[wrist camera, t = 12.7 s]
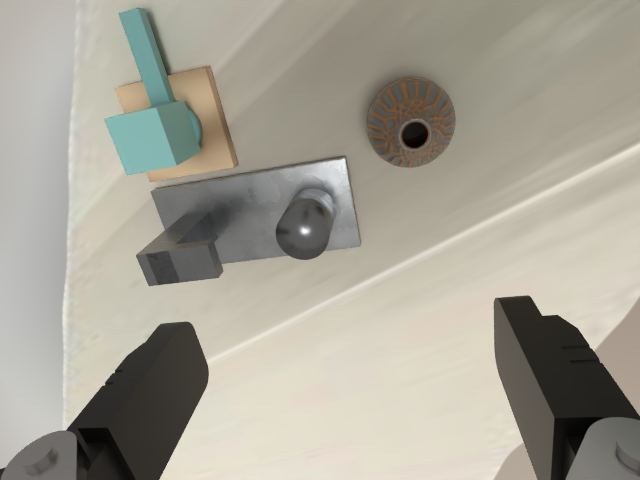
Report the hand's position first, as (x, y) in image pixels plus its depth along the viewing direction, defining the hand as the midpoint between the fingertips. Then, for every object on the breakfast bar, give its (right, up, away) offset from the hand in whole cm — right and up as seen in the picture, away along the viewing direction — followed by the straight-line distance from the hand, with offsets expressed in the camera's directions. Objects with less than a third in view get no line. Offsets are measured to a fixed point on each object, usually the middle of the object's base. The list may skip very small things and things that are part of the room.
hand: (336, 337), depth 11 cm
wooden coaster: (-14, +13, +28) cm, 34 cm away
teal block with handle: (-15, +16, +26) cm, 34 cm away
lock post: (-7, +5, +31) cm, 32 cm away
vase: (+7, +14, +25) cm, 30 cm away
